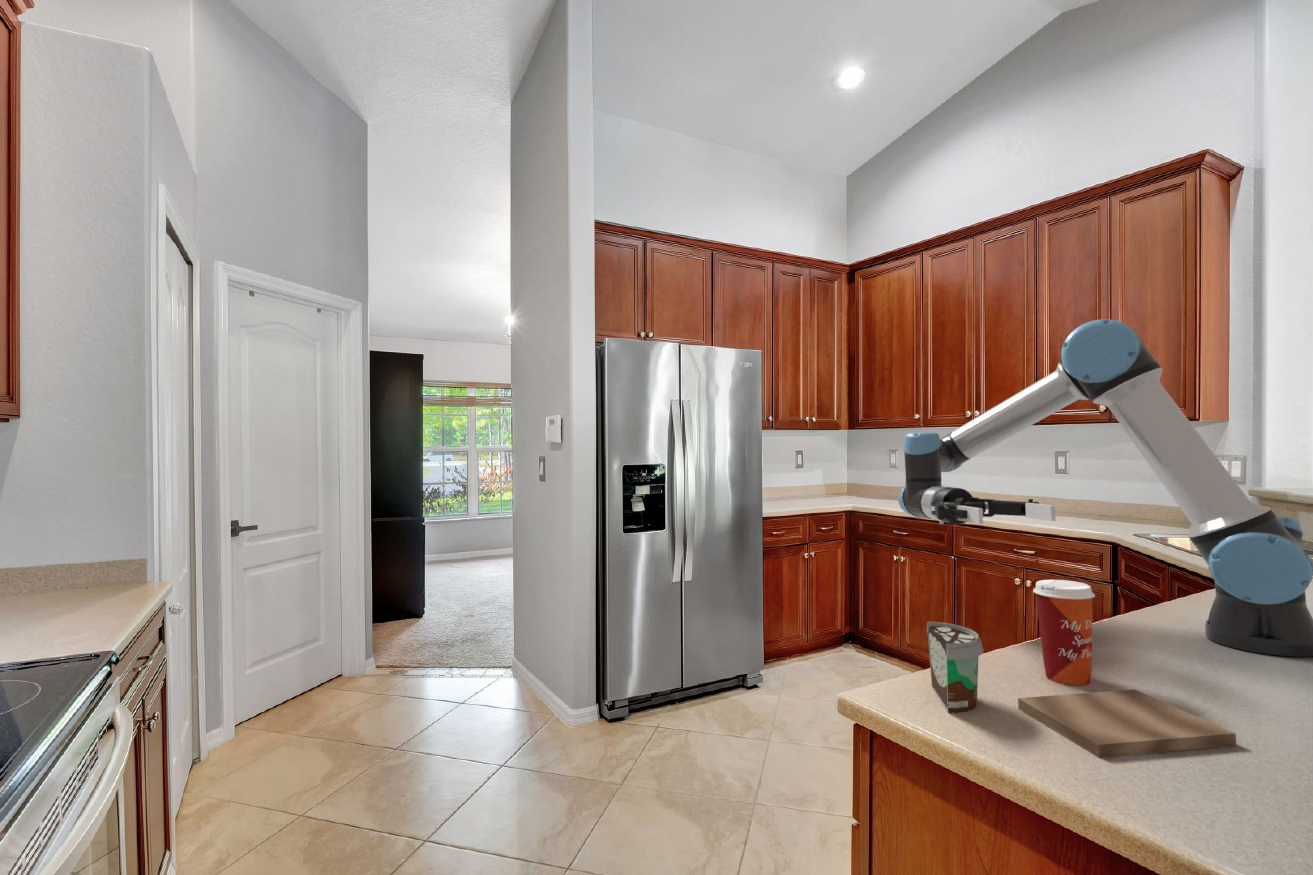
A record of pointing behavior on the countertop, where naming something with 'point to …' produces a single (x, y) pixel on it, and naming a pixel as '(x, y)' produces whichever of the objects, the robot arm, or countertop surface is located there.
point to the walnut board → (1124, 723)
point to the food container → (954, 665)
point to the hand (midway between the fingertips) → (1017, 514)
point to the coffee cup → (1065, 630)
